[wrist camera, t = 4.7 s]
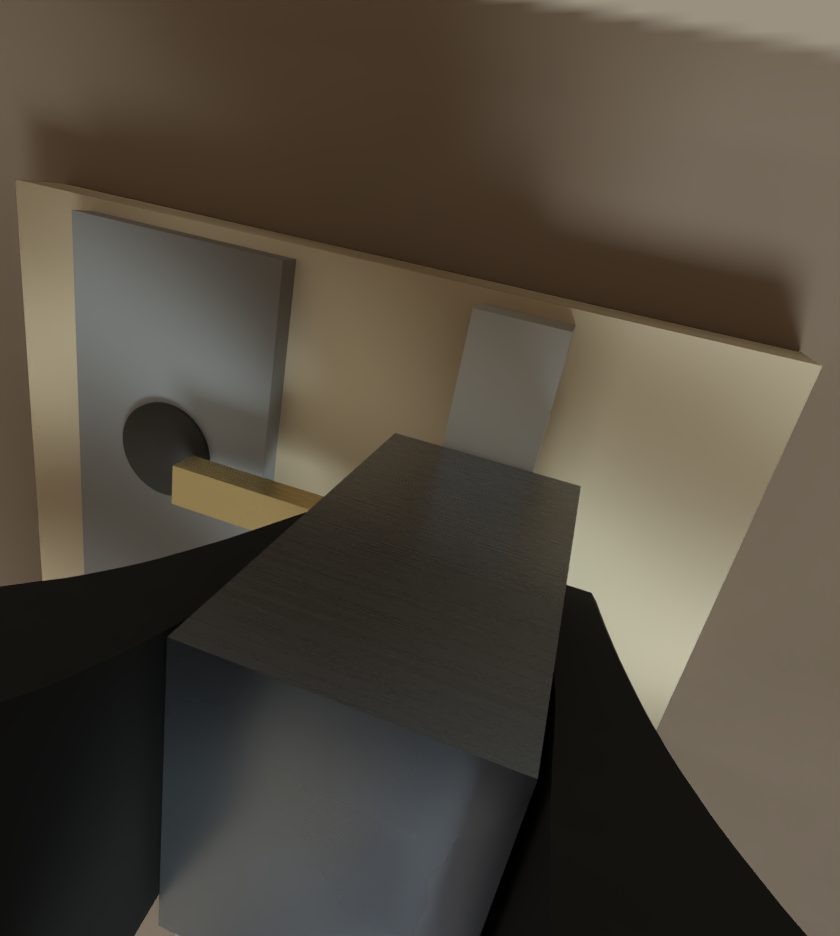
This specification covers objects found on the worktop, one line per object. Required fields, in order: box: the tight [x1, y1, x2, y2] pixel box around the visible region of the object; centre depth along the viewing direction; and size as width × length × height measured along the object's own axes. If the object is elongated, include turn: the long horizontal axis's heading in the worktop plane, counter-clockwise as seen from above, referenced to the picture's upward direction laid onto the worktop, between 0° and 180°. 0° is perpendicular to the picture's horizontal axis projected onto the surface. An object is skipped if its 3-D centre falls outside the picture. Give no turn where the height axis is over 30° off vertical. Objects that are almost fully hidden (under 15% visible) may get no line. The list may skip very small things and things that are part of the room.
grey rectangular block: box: [159, 433, 581, 936], centre depth 9 cm, size 4×7×6 cm, turn 79°
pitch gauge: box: [15, 179, 822, 729], centre depth 13 cm, size 14×15×4 cm
